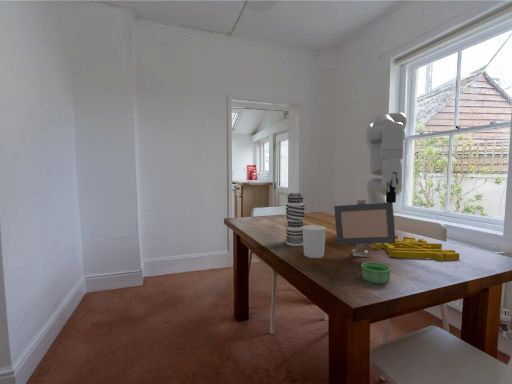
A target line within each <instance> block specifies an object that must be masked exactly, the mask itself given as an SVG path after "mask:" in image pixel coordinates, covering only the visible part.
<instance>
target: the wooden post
mask: <svg viewBox="0 0 512 384" xmlns="http://www.w3.org/2000/svg"><path fill="white" fill-rule="evenodd" d="M366 201H367V200H366V199H365V198H364V199H357V200H356V204H367V202H366ZM355 245H356V247H355V248H356V249H352V251H351V252H352V253H351V254H352V256H353V257H361V258H362V257H363V258H365V257H366V258H369V257H370V256H369V251H368V249H367V250H366V244H355Z"/></svg>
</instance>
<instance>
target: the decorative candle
mask: <svg viewBox="0 0 512 384" xmlns="http://www.w3.org/2000/svg"><path fill="white" fill-rule="evenodd" d="M286 197H287V202H286V203H287V204H285V207H286V208H285V211H286V212H285V213H286V221H287V225H286V226H287V228H286V239H285V241H286V244H287V245H288V246H292V247H299V246H303V230H302V227H303V226H304V221H305V219H304V218H305V215H304V214H305V211H304V210H305V208H304V207H305V206H306V205H305V204H304V196H303V195H302V193H301V192H290V193H288V195H287V196H286Z"/></svg>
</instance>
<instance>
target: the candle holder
mask: <svg viewBox="0 0 512 384" xmlns="http://www.w3.org/2000/svg"><path fill="white" fill-rule="evenodd" d="M302 230H303V245H302V246H303V255H304V257H306V258H309V259H321V258H323V257H324V256H325V247H326V235H327V234H326V231H327V226H326V227H325V226H323V225H317V224H310V225H309V224H308V225H307V224H306V225H303V227H302Z"/></svg>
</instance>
